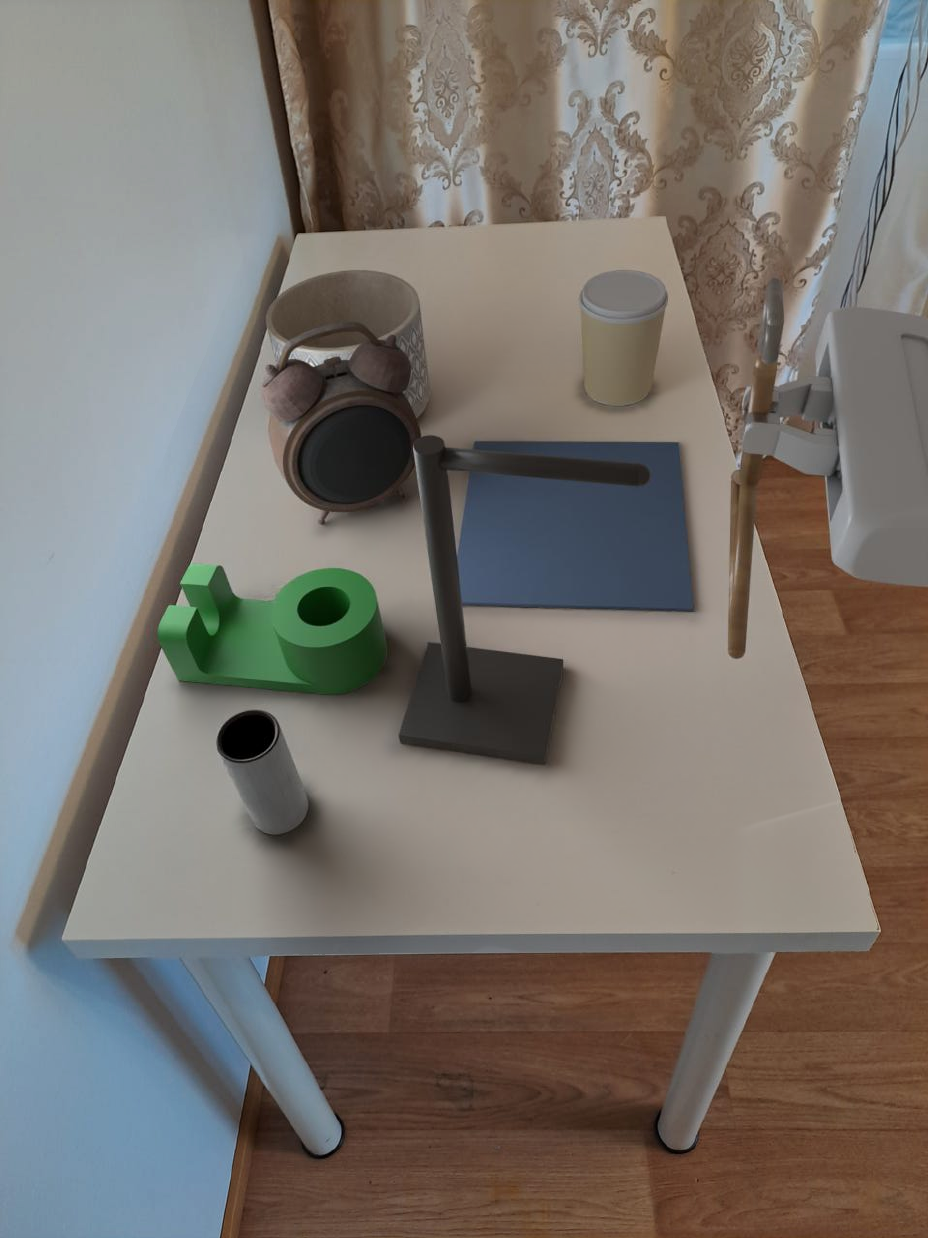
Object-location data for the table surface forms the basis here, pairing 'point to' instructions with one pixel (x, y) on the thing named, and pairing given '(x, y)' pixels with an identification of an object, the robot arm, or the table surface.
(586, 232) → the table surface
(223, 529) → the table surface
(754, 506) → the hanger
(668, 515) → the mat
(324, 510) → the alarm clock
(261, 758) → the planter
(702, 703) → the table surface
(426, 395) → the planter
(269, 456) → the table surface
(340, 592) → the green bracket
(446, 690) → the rail
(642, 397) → the coffee cup
